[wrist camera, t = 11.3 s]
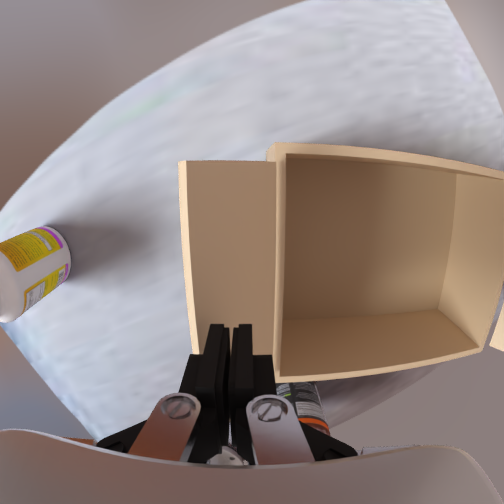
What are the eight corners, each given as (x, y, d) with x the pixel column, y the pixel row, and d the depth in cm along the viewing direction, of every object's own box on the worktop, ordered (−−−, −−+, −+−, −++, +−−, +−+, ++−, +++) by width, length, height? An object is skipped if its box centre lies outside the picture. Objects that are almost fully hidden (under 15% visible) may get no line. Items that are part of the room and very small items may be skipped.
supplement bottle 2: (292, 411, 32) (303, 486, 21) (253, 392, 31) (254, 473, 20) (326, 382, 31) (350, 458, 20) (287, 360, 30) (302, 442, 19)
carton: (437, 310, 29) (481, 351, 20) (265, 322, 28) (270, 383, 20) (457, 168, 24) (517, 175, 15) (266, 151, 24) (274, 142, 15)
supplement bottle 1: (25, 227, 26) (-57, 262, 13) (67, 221, 26) (-22, 260, 13) (37, 283, 27) (-34, 336, 15) (79, 284, 27) (5, 346, 15)
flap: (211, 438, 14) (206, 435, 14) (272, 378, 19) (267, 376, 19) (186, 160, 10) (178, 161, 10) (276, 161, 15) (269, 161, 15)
